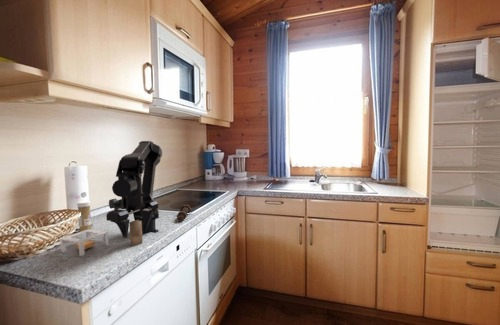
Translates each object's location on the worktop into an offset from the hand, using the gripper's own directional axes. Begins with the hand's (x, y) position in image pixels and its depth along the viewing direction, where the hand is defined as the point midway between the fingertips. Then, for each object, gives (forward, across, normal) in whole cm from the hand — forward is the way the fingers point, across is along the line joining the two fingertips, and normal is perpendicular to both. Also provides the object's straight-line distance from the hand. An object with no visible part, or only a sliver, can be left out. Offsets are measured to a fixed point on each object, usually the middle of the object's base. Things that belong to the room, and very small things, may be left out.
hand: (135, 233), depth 91 cm
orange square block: (+3, +9, -14) cm, 17 cm away
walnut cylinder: (+5, 0, 0) cm, 5 cm away
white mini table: (+5, +9, -14) cm, 17 cm away
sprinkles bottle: (+5, -4, -32) cm, 33 cm away
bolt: (+5, -35, -5) cm, 36 cm away
